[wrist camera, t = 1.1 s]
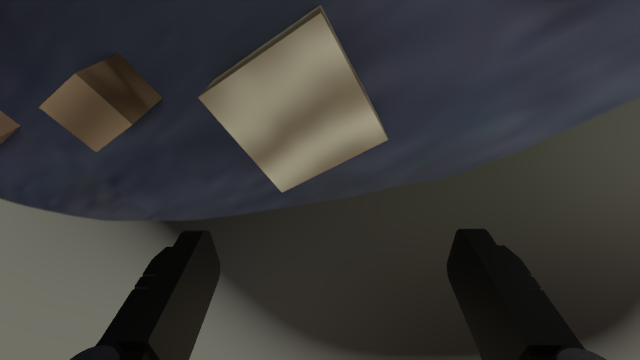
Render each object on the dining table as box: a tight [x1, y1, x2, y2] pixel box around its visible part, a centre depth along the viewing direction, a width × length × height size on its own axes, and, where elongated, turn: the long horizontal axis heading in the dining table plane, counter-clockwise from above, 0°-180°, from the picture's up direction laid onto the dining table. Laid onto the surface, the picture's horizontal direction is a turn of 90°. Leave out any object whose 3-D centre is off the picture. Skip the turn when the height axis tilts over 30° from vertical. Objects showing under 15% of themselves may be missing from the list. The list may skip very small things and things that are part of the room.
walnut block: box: [39, 53, 162, 152], centre depth 26 cm, size 5×5×6 cm
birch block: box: [198, 5, 388, 192], centre depth 28 cm, size 12×12×5 cm
